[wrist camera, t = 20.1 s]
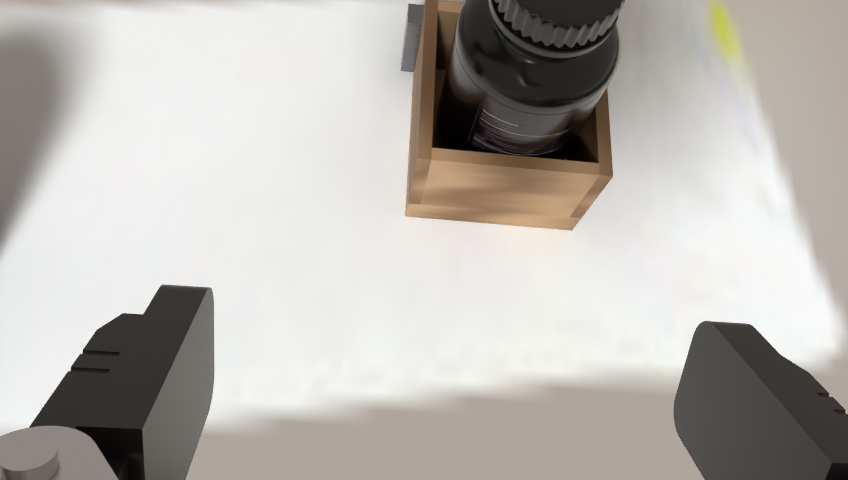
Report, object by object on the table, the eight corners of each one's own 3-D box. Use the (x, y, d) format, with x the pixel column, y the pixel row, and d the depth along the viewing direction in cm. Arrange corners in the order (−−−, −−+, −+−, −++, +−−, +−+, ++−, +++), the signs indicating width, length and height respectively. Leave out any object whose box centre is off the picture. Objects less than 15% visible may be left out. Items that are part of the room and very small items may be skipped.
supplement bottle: (435, 75, 38) (475, -114, 27) (562, 90, 38) (652, -90, 27) (428, 192, 35) (469, 35, 24) (564, 206, 36) (665, 59, 25)
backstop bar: (401, 70, 40) (407, 22, 36) (402, 52, 40) (408, 3, 36) (578, 88, 40) (602, 43, 37) (577, 70, 41) (601, 24, 37)
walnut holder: (405, 216, 36) (417, 158, 31) (413, 73, 40) (425, -2, 34) (571, 230, 37) (612, 176, 31) (566, 89, 40) (602, 18, 35)
